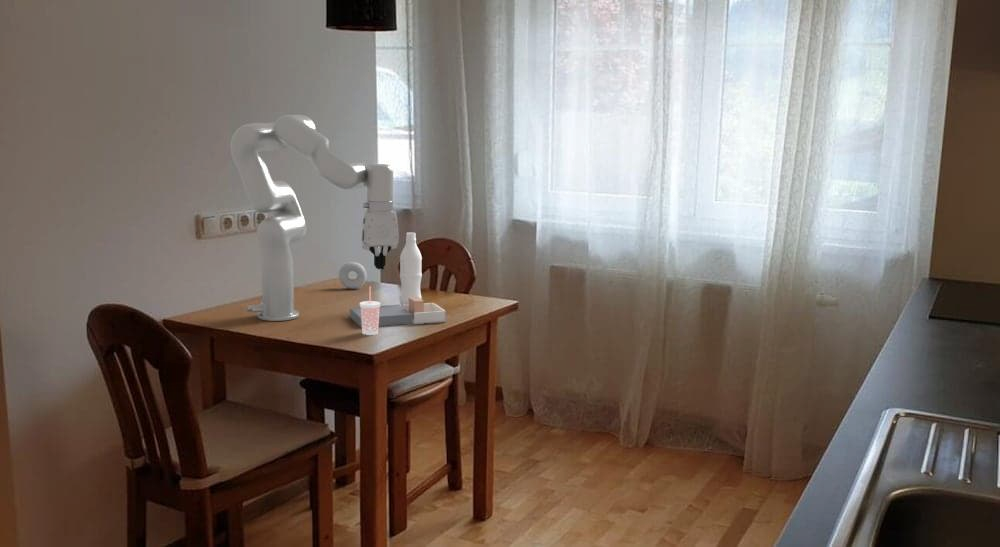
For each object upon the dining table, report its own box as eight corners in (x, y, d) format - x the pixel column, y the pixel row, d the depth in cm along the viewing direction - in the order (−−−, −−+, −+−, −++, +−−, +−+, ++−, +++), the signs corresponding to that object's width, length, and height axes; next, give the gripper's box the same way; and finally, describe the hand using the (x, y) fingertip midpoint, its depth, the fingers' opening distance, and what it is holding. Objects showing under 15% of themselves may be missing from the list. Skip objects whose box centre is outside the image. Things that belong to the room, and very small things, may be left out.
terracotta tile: (414, 301, 275) (423, 300, 277) (408, 297, 281) (417, 296, 282) (414, 320, 277) (423, 319, 278) (408, 316, 282) (417, 315, 283)
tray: (414, 324, 273) (414, 313, 272) (402, 315, 284) (403, 304, 284) (445, 322, 277) (446, 311, 276) (433, 313, 288) (433, 302, 287)
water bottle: (411, 311, 290) (411, 235, 286) (395, 307, 295) (395, 232, 290) (426, 307, 296) (426, 232, 291) (410, 304, 300) (410, 230, 296)
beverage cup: (373, 336, 258) (373, 289, 255) (355, 334, 260) (355, 287, 258) (384, 331, 264) (384, 285, 261) (366, 329, 266) (366, 283, 263)
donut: (338, 289, 321) (338, 262, 319) (339, 287, 324) (338, 260, 322) (366, 290, 322) (366, 262, 320) (367, 288, 325) (366, 261, 323)
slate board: (360, 327, 268) (360, 317, 267) (350, 317, 281) (349, 307, 280) (412, 323, 274) (412, 314, 273) (399, 313, 287) (399, 304, 286)
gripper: (358, 208, 254) (358, 272, 258) (408, 207, 261) (407, 269, 264) (351, 205, 261) (351, 267, 264) (400, 204, 267) (399, 265, 271)
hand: (379, 268), depth 264 cm, fingers closed
